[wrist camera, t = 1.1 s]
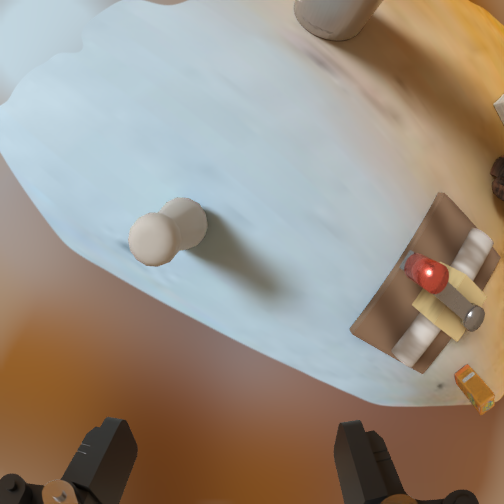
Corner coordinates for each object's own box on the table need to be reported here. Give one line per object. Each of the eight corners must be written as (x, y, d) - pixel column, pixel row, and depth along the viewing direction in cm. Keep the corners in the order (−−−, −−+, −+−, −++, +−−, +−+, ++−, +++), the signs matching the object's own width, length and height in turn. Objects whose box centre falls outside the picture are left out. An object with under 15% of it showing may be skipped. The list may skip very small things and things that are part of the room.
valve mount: (438, 192, 33) (479, 197, 25) (494, 255, 35) (530, 269, 27) (349, 329, 38) (370, 364, 29) (418, 369, 39) (443, 400, 31)
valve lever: (480, 309, 28) (506, 326, 22) (467, 329, 28) (491, 349, 23) (409, 243, 26) (438, 256, 21) (392, 269, 26) (418, 287, 21)
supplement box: (452, 374, 40) (480, 406, 30) (467, 363, 40) (496, 393, 30) (454, 385, 41) (481, 416, 31) (468, 374, 40) (496, 403, 30)
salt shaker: (199, 188, 34) (168, 192, 21) (218, 234, 35) (198, 263, 22) (155, 208, 34) (105, 222, 22) (174, 252, 35) (134, 288, 23)
